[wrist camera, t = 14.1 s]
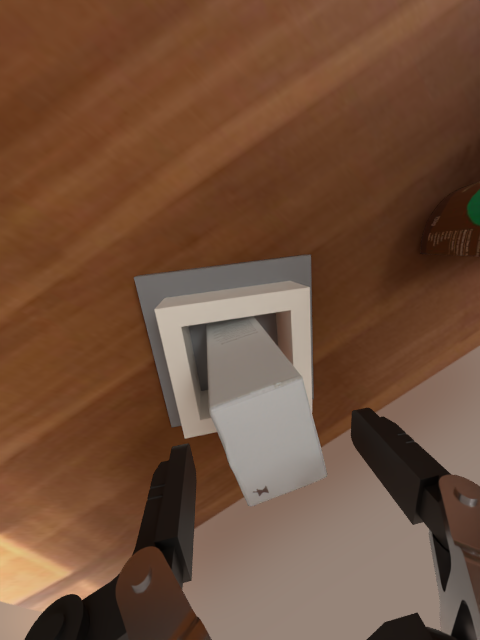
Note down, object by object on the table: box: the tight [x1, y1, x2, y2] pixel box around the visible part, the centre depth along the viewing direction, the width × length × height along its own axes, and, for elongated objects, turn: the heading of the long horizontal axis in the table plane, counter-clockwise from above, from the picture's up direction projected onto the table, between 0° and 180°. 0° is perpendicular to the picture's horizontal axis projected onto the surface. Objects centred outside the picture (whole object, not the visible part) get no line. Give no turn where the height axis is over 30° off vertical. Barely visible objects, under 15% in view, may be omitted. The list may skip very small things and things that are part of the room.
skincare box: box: [206, 316, 327, 506], centre depth 15 cm, size 6×4×12 cm
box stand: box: [134, 255, 314, 439], centre depth 20 cm, size 15×15×6 cm
